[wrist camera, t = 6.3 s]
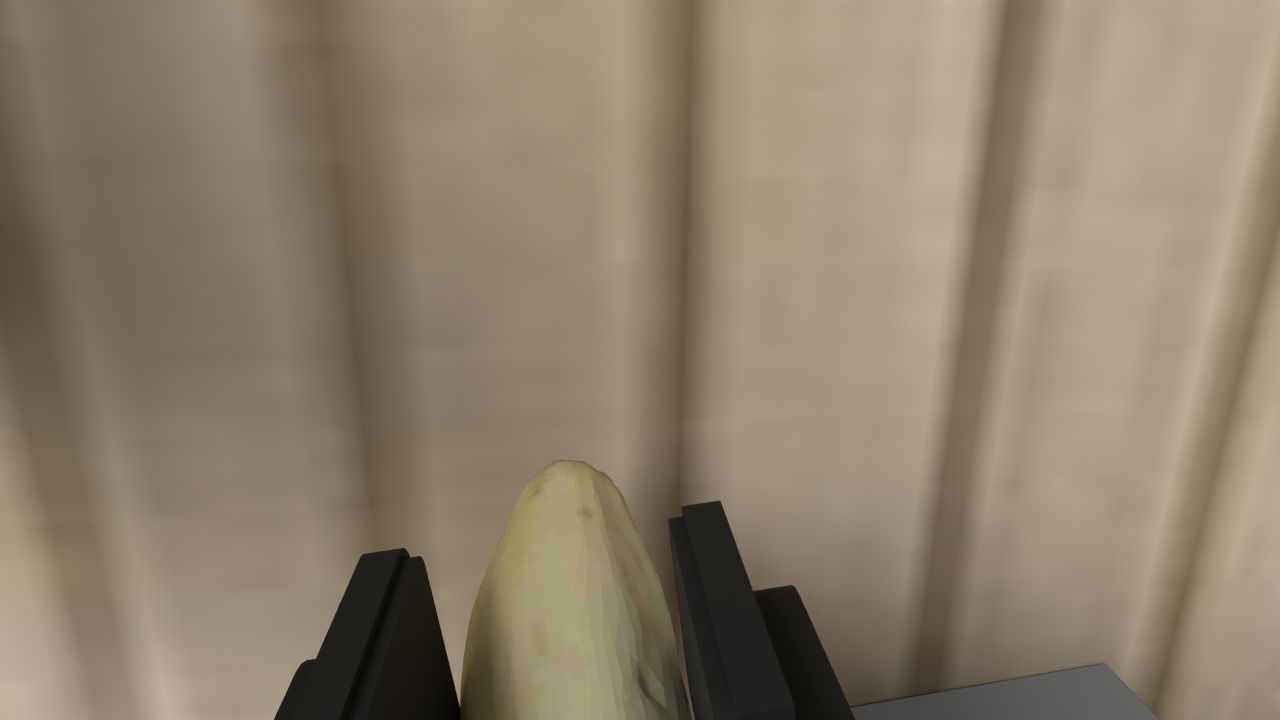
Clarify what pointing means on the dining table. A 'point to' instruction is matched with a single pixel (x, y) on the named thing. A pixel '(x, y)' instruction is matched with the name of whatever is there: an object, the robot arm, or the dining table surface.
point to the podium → (1023, 700)
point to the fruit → (571, 613)
